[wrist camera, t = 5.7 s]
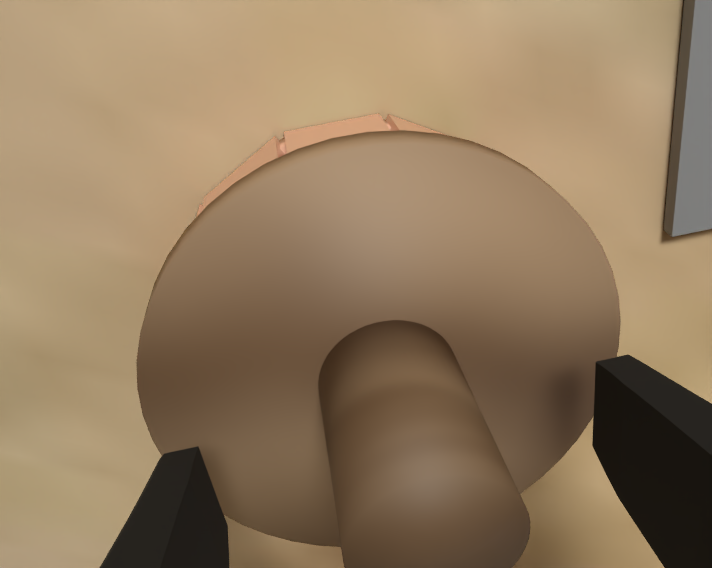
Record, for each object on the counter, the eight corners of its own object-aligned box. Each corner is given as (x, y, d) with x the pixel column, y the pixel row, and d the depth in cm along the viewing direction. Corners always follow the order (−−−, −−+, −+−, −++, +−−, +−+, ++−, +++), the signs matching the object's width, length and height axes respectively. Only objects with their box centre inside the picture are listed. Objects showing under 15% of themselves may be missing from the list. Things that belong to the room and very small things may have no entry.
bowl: (532, 390, 19) (579, 470, 16) (231, 455, 19) (228, 548, 16) (525, 85, 15) (588, 123, 12) (132, 160, 14) (104, 218, 12)
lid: (578, 486, 17) (688, 675, 12) (193, 548, 16) (172, 773, 12) (630, 102, 12) (834, 202, 8) (84, 162, 11) (-15, 309, 7)
